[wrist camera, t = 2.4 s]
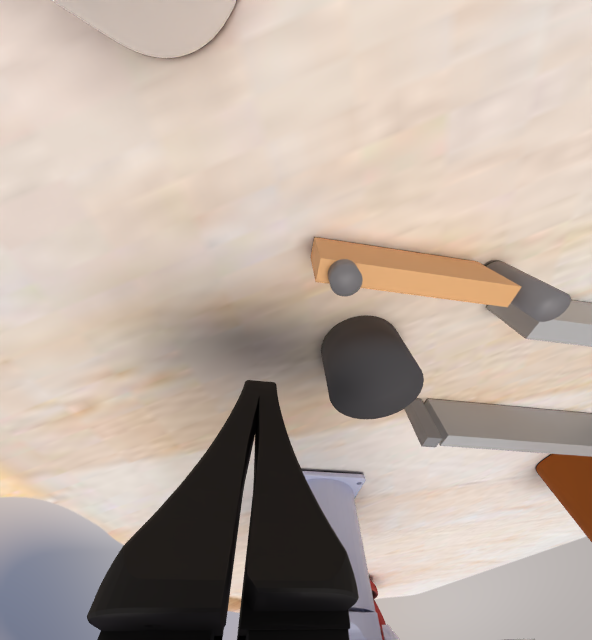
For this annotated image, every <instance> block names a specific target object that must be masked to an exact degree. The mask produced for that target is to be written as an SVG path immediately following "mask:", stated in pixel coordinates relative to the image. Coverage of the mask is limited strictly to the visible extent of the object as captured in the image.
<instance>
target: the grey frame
mask: <svg viewBox="0 0 592 640" xmlns="http://www.w3.org/2000/svg"><path fill="white" fill-rule="evenodd" d="M486 308H487V309H488V310H489V311H491V312H492V313H493V314H494V315H496V316H497V317H498V318H500V319H501V320H502V321H504V322H505V323H506V324H507V325H509V326H510V327H511V328H513V329H514V330H515V331H516V332H518V333H519V334H520V335H522V336H523V337H524V338H526V339H532V340H540V341H548V342H556V343H565V344H573V345H581V346H590V347H592V303H589V302H582V301H575V300H571V302H570V305H569V307H568V308H567V310H566V311H565V312H564V313H563V314H561V315H560V316H559V317H557V318H555V319H553V320H550V321H546V322H539V321H536V320H535V319H533V318H532V317H530V316H529V315H527V314H526V313H524V312H523V311H521V310H520V309H518V308H517V307H515V306H514V305H512V304H511V303H510V305H509V306H508V307H502V306H494V305H488V306H487V307H486ZM404 409H405V411H406V413H407V415H408V418H409V420H410V422H411V424H412V426H413V429H414V431H415V433H416V435H417V437H418V440H419V442H420V444H421V446H425V447H436V446H437V445H438V443H439V444H440V446H451V447H465V448H479V449H493V450H507V451H521V452H535V453H549V454H563V455H577V456H591V457H592V414H591V413H580V412H569V411H558V410H547V409H536V408H525V407H514V406H503V405H492V404H481V403H470V402H459V401H448V400H437V399H427V401H426V402H425V404H423V402H422V400H421V399H415V400H414V401H413V402H412V403H411V404H410V405H408V406H407V407H406V408H404Z"/></svg>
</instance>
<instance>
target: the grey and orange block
mask: <svg viewBox="0 0 592 640" xmlns="http://www.w3.org/2000/svg"><path fill="white" fill-rule="evenodd" d="M536 470H537V473H538V474H539V475H540V477H541V478H542V479H543V481H544V482H545V483H546V484H547V486H548V487H549V488H550V490H551V491H552V492H553V493H554V495H555V496H556V497H557V498H558V500H559V501H560V502H561V504H562V505H563V506H564V507H565V509H566V510H567V511H568V513H569V514H570V515H571V516H572V518H573V519H574V520H575V521H576V523H577V524H578V525H579V527H580V528H581V529H582V530H583V532H584V533H585V534H586V536H587V537H588V538H589V539H590V541H591V542H592V457H591V456H577V455H563V454H551V455H550V456H548V457H547V458H545V459H544V460H543V461H541V462H540V463H539V464H538V465H537V467H536Z"/></svg>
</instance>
